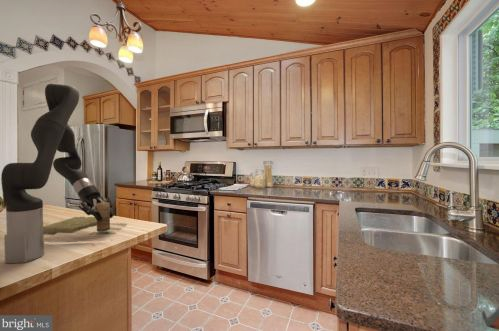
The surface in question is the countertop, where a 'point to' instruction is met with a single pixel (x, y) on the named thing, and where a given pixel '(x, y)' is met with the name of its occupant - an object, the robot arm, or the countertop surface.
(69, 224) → the decorative tile
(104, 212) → the walnut roller
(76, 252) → the countertop surface
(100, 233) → the birch board
